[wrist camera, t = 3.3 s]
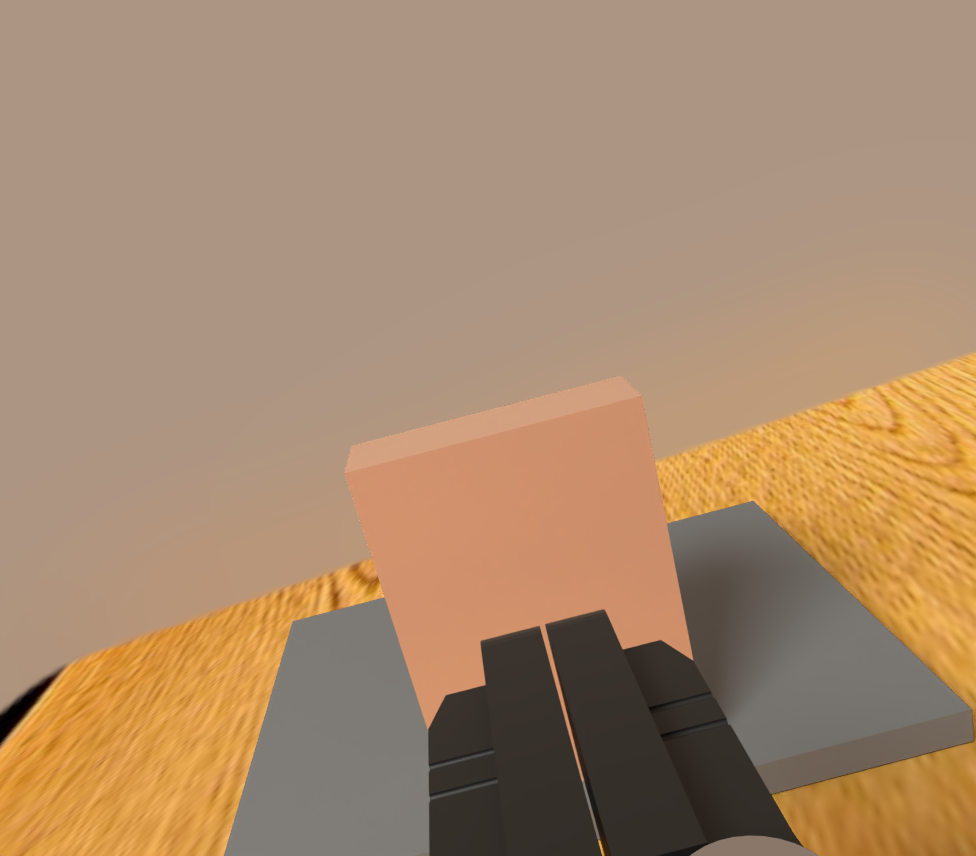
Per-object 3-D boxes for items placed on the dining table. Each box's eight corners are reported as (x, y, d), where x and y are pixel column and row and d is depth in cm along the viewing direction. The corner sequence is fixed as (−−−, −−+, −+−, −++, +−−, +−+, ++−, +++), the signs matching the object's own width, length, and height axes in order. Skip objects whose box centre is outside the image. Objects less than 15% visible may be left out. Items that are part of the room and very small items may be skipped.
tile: (684, 697, 23) (619, 373, 20) (710, 747, 21) (641, 395, 18) (451, 758, 23) (352, 443, 20) (455, 814, 21) (344, 472, 18)
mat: (756, 522, 34) (753, 500, 34) (973, 740, 21) (971, 709, 20) (300, 641, 34) (292, 621, 34) (221, 939, 21) (208, 909, 20)
